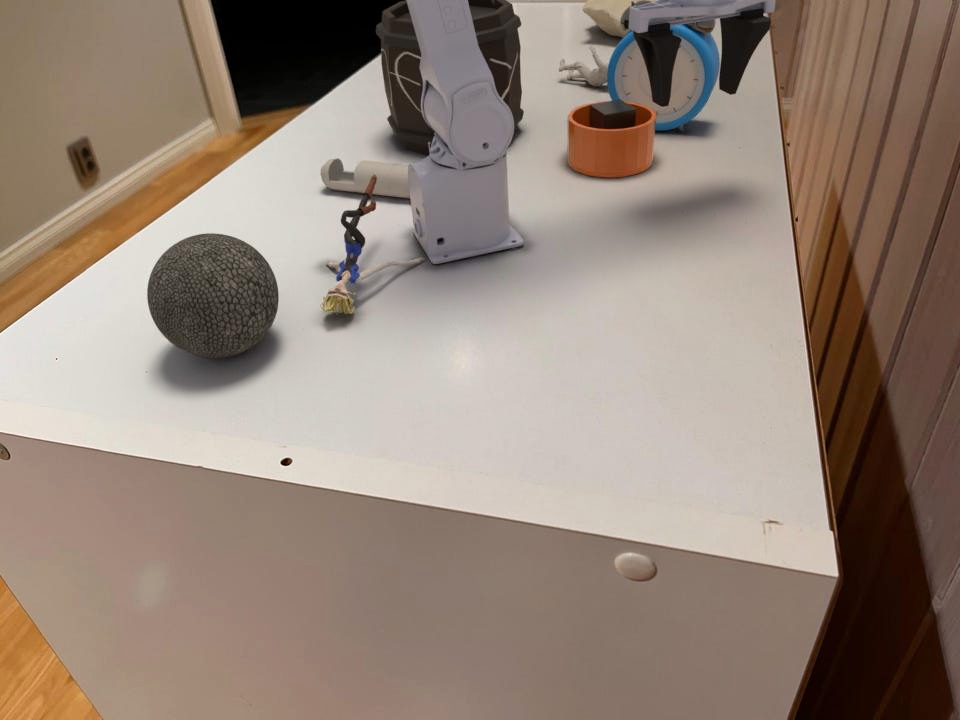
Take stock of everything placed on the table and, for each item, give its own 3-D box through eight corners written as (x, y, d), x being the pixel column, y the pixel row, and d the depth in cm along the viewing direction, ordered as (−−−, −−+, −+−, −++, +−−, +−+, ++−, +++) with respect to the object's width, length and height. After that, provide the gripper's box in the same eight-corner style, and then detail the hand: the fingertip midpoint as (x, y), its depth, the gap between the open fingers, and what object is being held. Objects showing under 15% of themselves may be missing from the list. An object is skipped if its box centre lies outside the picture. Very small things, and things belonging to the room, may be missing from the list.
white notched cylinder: (315, 195, 90) (304, 140, 86) (335, 179, 93) (326, 126, 89) (459, 212, 84) (454, 154, 80) (475, 194, 87) (471, 137, 83)
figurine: (309, 383, 72) (372, 234, 83) (384, 372, 67) (440, 216, 79) (235, 311, 65) (316, 159, 77) (314, 294, 61) (386, 136, 72)
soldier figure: (581, 79, 122) (650, 63, 114) (576, 107, 121) (644, 93, 113) (554, 52, 116) (624, 32, 109) (548, 81, 116) (618, 63, 108)
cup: (589, 183, 88) (590, 136, 84) (554, 153, 95) (554, 109, 92) (668, 168, 90) (672, 121, 87) (628, 140, 98) (630, 96, 94)
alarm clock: (604, 129, 101) (608, 5, 92) (615, 113, 106) (620, -6, 97) (706, 136, 97) (721, 8, 88) (714, 120, 101) (728, -4, 93)
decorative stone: (678, 12, 127) (591, -20, 127) (655, 65, 132) (572, 35, 132) (678, -14, 145) (602, -42, 145) (658, 34, 150) (585, 7, 150)
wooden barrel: (380, 164, 96) (360, 30, 87) (397, 115, 111) (382, -4, 101) (525, 157, 95) (521, 21, 86) (523, 109, 109) (520, -13, 100)
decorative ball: (253, 390, 60) (220, 278, 54) (143, 375, 63) (101, 266, 57) (309, 320, 68) (286, 216, 62) (210, 309, 70) (178, 208, 65)
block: (602, 165, 90) (604, 114, 87) (588, 154, 93) (589, 104, 90) (633, 159, 91) (636, 108, 88) (618, 148, 94) (620, 98, 91)
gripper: (659, -38, 65) (648, 121, 73) (807, -58, 68) (781, 97, 76) (621, -50, 71) (615, 100, 79) (759, -67, 74) (739, 78, 82)
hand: (694, 97), depth 78 cm, fingers open, 7 cm apart
